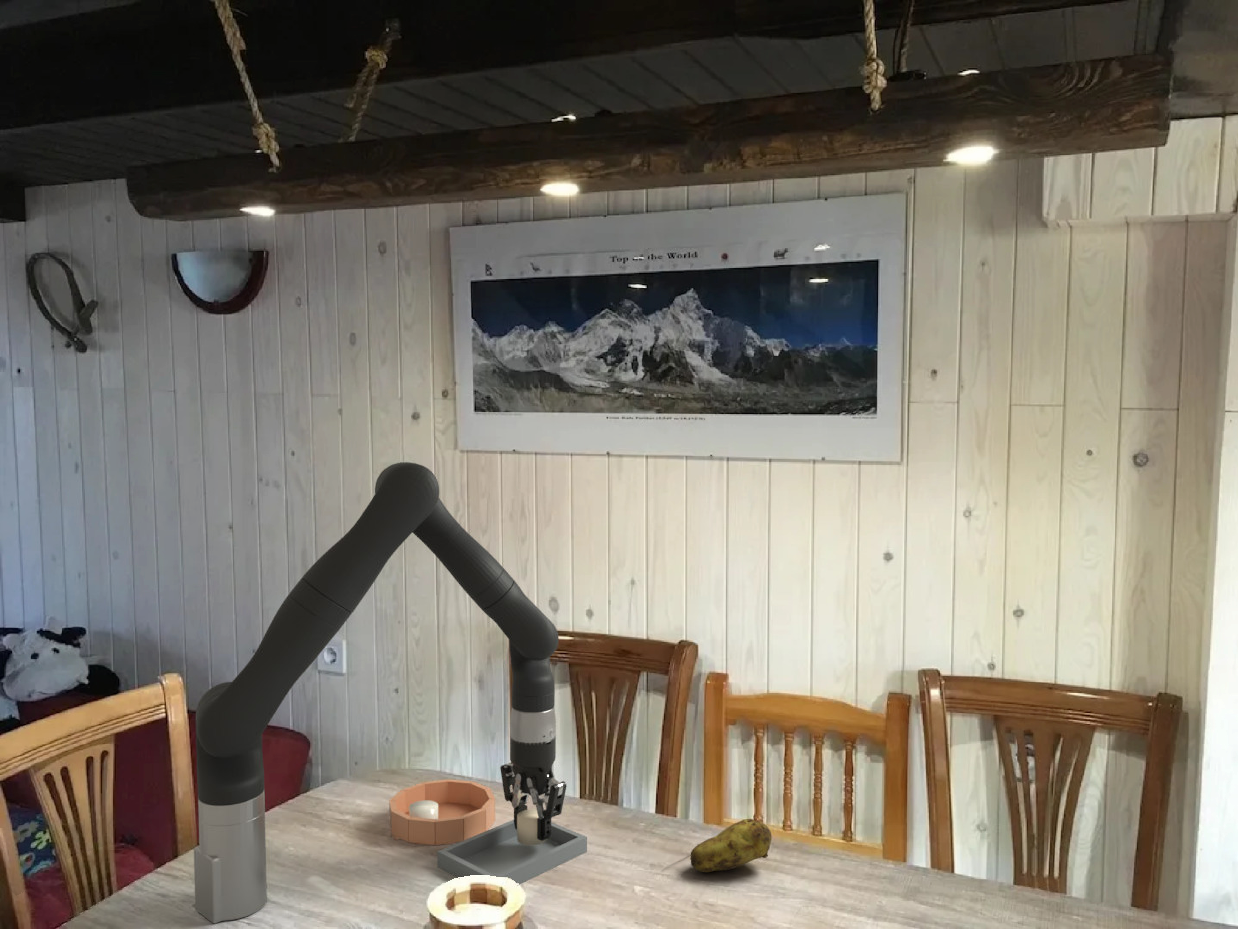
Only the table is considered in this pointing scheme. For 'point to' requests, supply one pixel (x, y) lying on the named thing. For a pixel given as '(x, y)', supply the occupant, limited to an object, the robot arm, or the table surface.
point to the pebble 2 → (528, 827)
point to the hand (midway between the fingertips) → (532, 833)
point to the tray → (510, 853)
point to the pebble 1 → (424, 809)
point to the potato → (732, 847)
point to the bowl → (443, 812)
